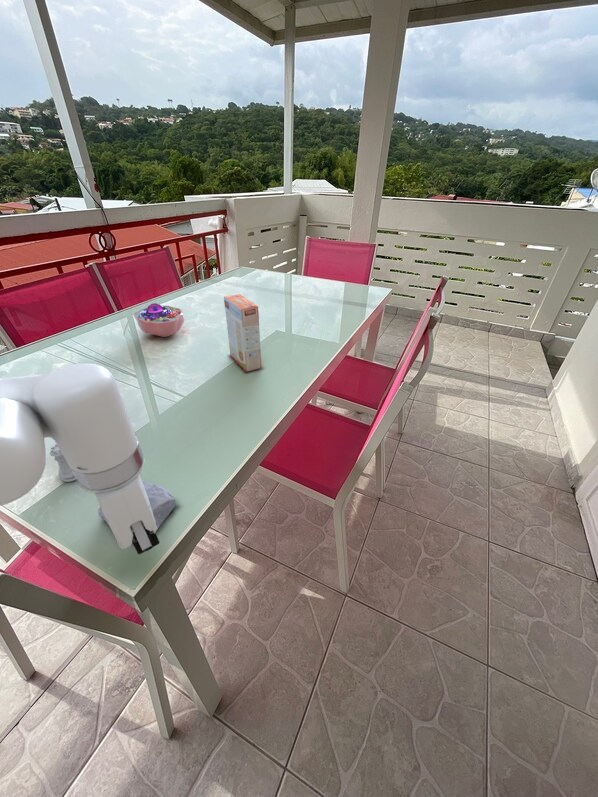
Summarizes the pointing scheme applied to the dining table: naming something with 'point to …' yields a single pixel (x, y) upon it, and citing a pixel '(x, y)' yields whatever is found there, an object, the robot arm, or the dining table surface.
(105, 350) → the dining table surface
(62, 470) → the rook chess piece
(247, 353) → the cracker box
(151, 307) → the cell model
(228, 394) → the dining table surface
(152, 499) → the stone block
